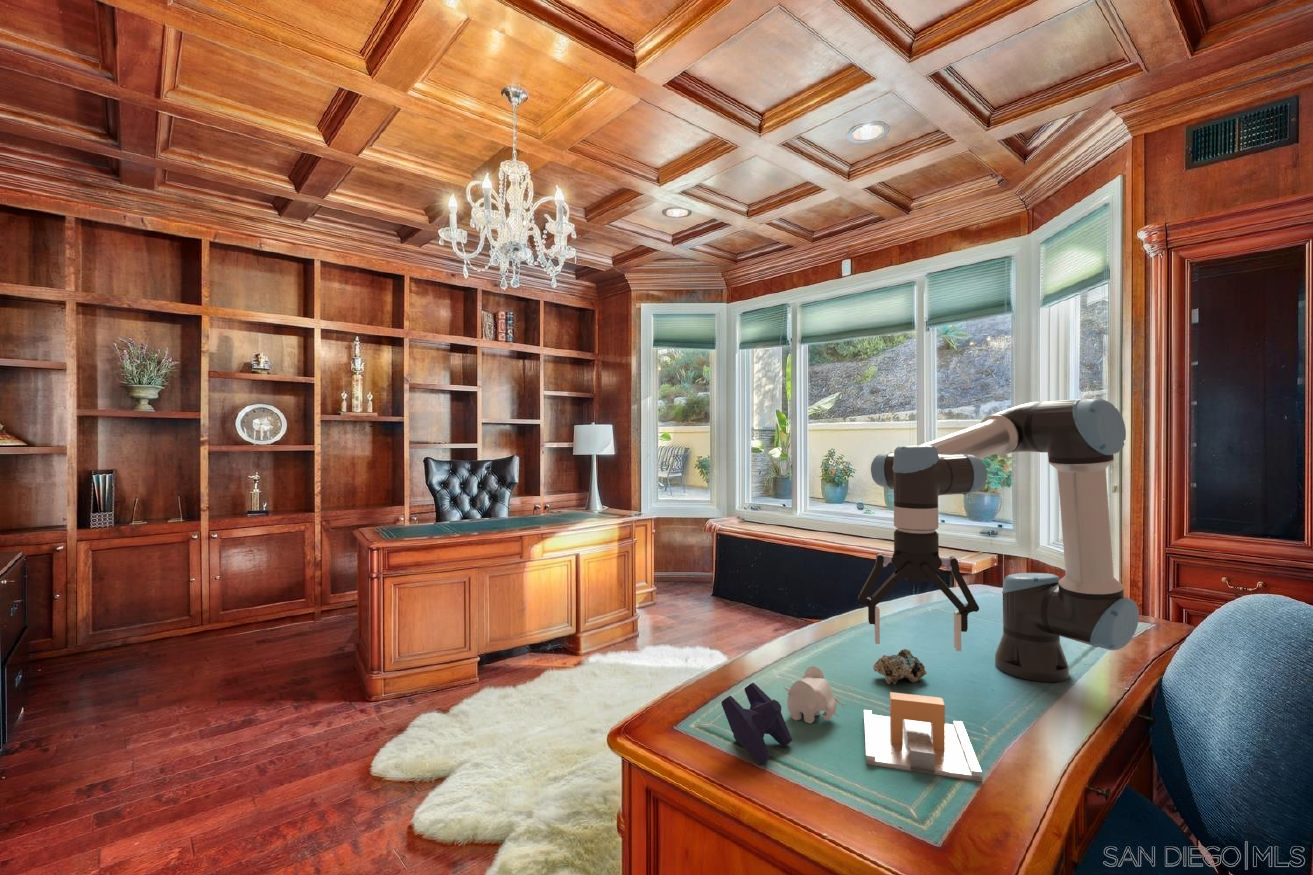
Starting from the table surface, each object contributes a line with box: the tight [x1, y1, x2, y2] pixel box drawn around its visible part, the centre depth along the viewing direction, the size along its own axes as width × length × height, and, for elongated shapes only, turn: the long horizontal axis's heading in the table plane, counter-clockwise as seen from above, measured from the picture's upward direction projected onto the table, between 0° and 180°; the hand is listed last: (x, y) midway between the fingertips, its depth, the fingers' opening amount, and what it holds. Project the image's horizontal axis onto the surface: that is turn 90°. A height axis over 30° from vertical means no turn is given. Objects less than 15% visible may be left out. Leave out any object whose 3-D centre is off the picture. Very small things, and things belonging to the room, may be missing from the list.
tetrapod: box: [720, 682, 793, 765], centre depth 110 cm, size 11×12×11 cm
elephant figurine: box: [782, 665, 845, 724], centre depth 122 cm, size 10×12×9 cm
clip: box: [889, 691, 946, 749], centre depth 111 cm, size 9×3×8 cm, turn 73°
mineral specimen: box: [872, 648, 928, 685], centre depth 141 cm, size 12×9×8 cm
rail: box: [863, 709, 983, 782], centre depth 110 cm, size 18×18×4 cm
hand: (916, 645), depth 110 cm, fingers open, 13 cm apart
